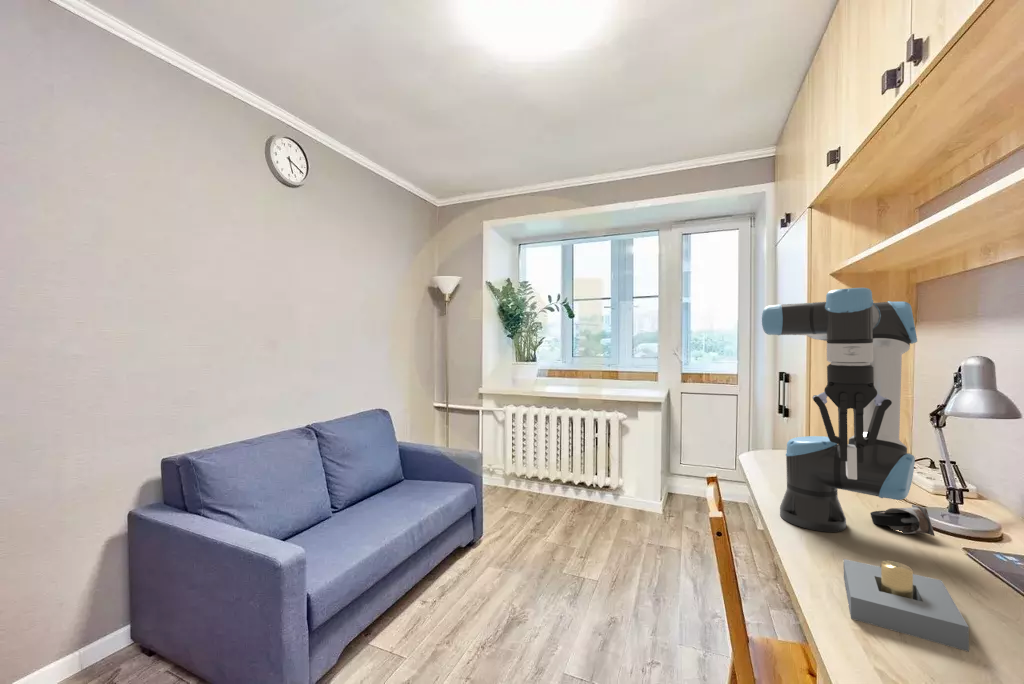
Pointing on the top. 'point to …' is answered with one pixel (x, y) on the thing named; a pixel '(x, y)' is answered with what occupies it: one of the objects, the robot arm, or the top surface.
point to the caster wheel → (905, 519)
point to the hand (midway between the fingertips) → (851, 477)
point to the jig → (905, 606)
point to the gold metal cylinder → (896, 579)
